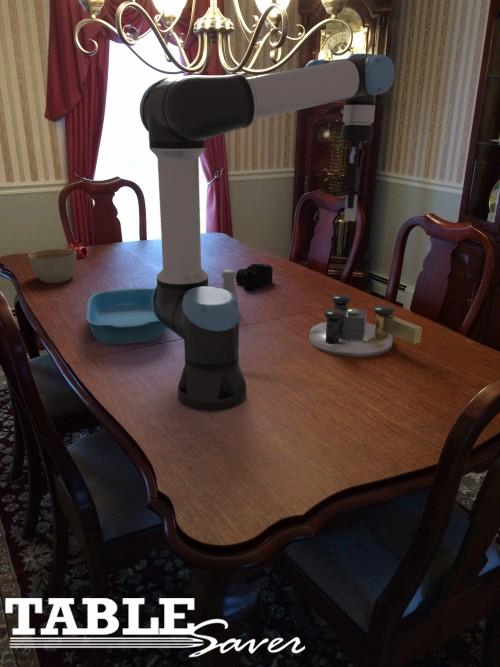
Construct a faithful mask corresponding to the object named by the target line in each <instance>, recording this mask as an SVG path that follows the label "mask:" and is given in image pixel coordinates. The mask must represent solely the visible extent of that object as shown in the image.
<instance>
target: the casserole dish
mask: <svg viewBox="0 0 500 667" xmlns="http://www.w3.org/2000/svg"><path fill="white" fill-rule="evenodd" d="M154 289H155V288H144V287H143V288H142V287H141V288H140V287H124V288H123V287H122V288H114V289H109V290H104V291H103V290H102V291H98V292H96V293H93V294H91V295H90V297H89V298H88V300H87V306H86V308H87V309H86V315H85V316H86V321H87V324H88V325H89V328H90V330H91V332H92V335H93V336H94V337H95V339H96V340H98V341H99V342H100V343H103V344H105V345H125V344H126V345H128V344H140V343H149V342H154V341H157V340H158V339H159V338H161V337H162V336H163V335H164V334H165V332H166V330H167V327H166V326H164V325H163V324H162V323H161V322H160V321H159V320H158V318H157V317H156V316H155V314H154V312H153V310H152V306H151V297H152V293H153V290H154Z"/></svg>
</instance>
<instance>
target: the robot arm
mask: <svg viewBox="0 0 500 667" xmlns="http://www.w3.org/2000/svg"><path fill="white" fill-rule="evenodd" d="M394 65H395V64H394V62H393V61H392V59H391V58H390V57H389V56H388V55H385V54H374V53H352V54H348V55H347V58H340V59H332V60H330V59H329V60H326V59H312V60H310V61H308V63H306V65H305V66H304V67H300V68H299V67H298V68H295V69H289V70H284V71H279V72H277V71H276V72H273V73H268V74H267V73H266V74H261V75H257V76H250V77H246V76H245V75H244V74H242V73H233V74H227V75H197V74H195V75H193V74H191V75H185V76H173V77H172V76H171V77H164V78H163V79H159V80H158V81H156V82H154V83H152V84H150V85H149V86H148V88H147V89H146V90H145V91H144V92H143V95H142V97H141V100H140V104H139V117H140V121H141V123H142V125H143V127H144V128H145V130H146V131H147V132H148V142H149V143H148V144H149V150H150V152H151V153H153V154H154V155H155V157H156V159H157V174H158V193H159V194H158V195H159V215H160V216H159V218H160V233H161V234H160V236H161V252H162V253H161V254H162V255H161V256H162V270H160V272H158V273H157V275H156V286H155V288H153V289H154V290H153V293H152V297H151V306H152V310H153V312H154V314H155V316H156V317H157V318H158V320H159V321H160V322H161V323H162V324H163V325H164V326H166V329H169V330H171V331H172V332H173V333H174V334H176V335H177V336H178V337H180V338H182V339H183V343H184V344H183V346H184V366H183V370H182V373H181V376H180V379H179V382H178V385H177V398H178V400H179V401H180V403H181V404H182V405H184V406H185V407H188V408H189V409H193V410H196V411H201V412H203V411H204V412H219V411H226V410H229V409H233V408H235V407H237V406H239V405H241V404H242V403H243V402H244V401H245V400H246V398H247V392H248V391H247V389H248V388H247V383H246V379H245V377H244V374H243V372H242V368H241V365H240V363H239V362H240V360H239V359H240V353H239V352H240V344H239V343H240V319H241V314H240V308H239V299H238V297H237V298H236V297H235V295H234V294H232V293H231V292H229V291H228V290H225V289H222V288H221V287H219V288H217V287H216V286H209V274H208V273H207V271H205V270H204V269H203V268H202V255H201V254H202V244H201V243H202V242H201V239H202V238H201V208H200V207H201V206H200V205H201V204H200V202H201V200H200V198H201V197H200V165H199V164H200V161H199V158H200V157H201V155H202V154H203V152H204V151H206V140H208V139H211V138H215V137H217V136H222V135H226V134H228V133H231V132H234V131H238V130H240V129H245V128H249V127H251V126H252V125H253V123H254V121H255V120H256V121H257V120H259V119H264V118H268V117H269V118H270V117H273V116H278V115H282V114H286V113H291V112H294V111H299V110H304V109H309V108H313V107H317V106H322V105H326V104H330V103H334V102H338V101H343V109H340V113H341V114H342V115H343V116H342V122H343V123H344V124H343V125H342V126H341V136H340V138H341V141H343V142H350V143H349V148H347V149H346V152H345V153H346V157H345V158H346V176H345V179H346V180H345V190H344V191H345V192H343V193H342V194H343V196H345V204H344V205H345V207H344V221H348V222H356V217H357V206H358V205H357V204H358V195H361V191H359V190H360V182H361V181H360V180H361V172H362V166H363V159H364V158H363V157H364V156H365V149H364V148H363V142H371V141H372V139H373V133H374V132H373V129H374V127H373V125H372V124H373V123H374V122H375V110H376V97H377V95H379V94H381V95H382V94H384V93H386V92H388V91H389V90H390V89H391V87H392V85H393V83H394V81H395V80H394V79H395V73H396V71H395V66H394ZM237 299H238V300H237ZM182 339H181V340H182Z"/></svg>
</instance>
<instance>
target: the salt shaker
mask: <svg viewBox="0 0 500 667" xmlns="http://www.w3.org/2000/svg"><path fill="white" fill-rule="evenodd" d="M236 274H237V272H236V271H235V269H234V270H233V269H230V268H229V269H224V270H223V271H222V272H221V278H222V279H223V283H222V289H225V290H228V291H229V292H231V293H232V294H234V295H235V297H236V298H237V300H238V301H239V299H238V294H237V289H236V286H235V285H236V284H235V279H236Z"/></svg>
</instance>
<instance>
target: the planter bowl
mask: <svg viewBox="0 0 500 667" xmlns="http://www.w3.org/2000/svg"><path fill="white" fill-rule="evenodd" d="M28 260H29V263H30V267H31V269H32V271H33V273H34V274H35V276H36V277H37V278H38V279H39V280H40V281H41V282H43V283H45V284H46V283H47V284H48V283H49V284H58V283H64V282H66V281H69V280H70V279H71V278H72V277H73V275H74V273H75V270H76V266H77V259H76V251H74V250H70V249H65V248H51V249H50V248H49V249H48V248H47V249H42V250H37V251H33V252H31V253H29V254H28Z"/></svg>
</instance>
